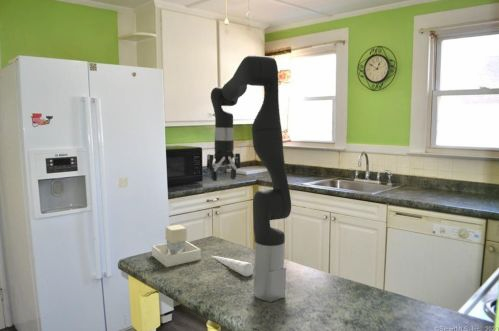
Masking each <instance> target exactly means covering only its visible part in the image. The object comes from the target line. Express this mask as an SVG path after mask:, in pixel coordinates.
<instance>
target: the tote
mask: <svg viewBox="0 0 499 331" xmlns="http://www.w3.org/2000/svg"><path fill="white" fill-rule="evenodd" d="M151 256H152V257H153V258H154V259H155V260H157V261H158V262H160V263H161V264H162V265H163V266H164V267H166V268H168V267H173V266H178V265H182V264H185V263H186V264H187V263H191V262H196V261H200V260H201V258H202V249H201V248H199V247H198V246H196V245H194V244H192V243H191V242H189V241H185V252H183V253H179V254H174V255H169V256H167V242H165V243H160V244H156V245H155V244H154V245H152V246H151Z"/></svg>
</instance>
